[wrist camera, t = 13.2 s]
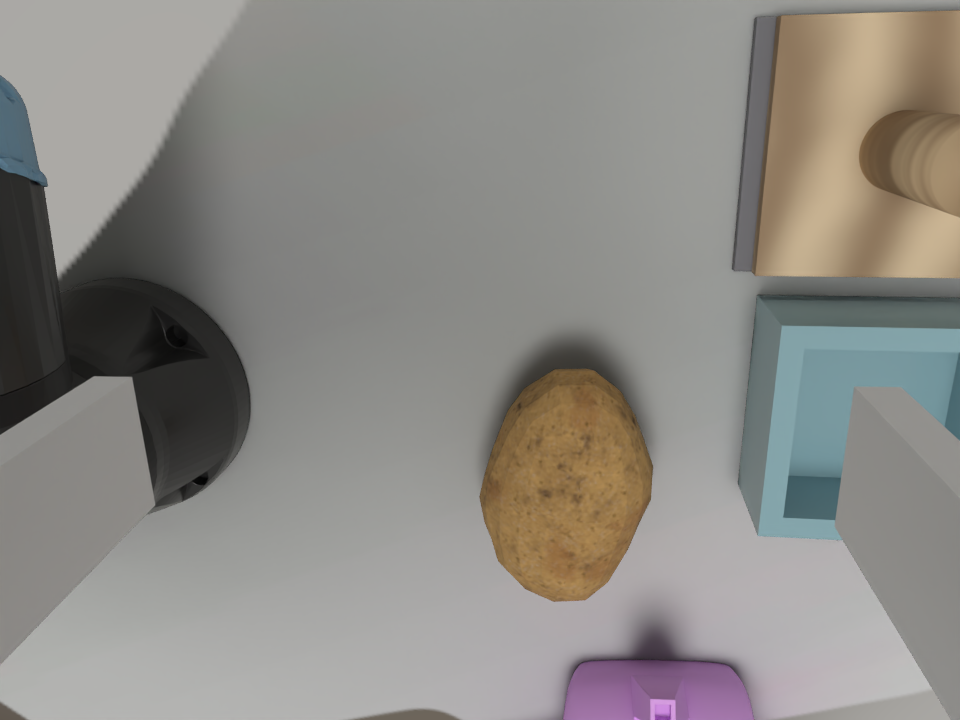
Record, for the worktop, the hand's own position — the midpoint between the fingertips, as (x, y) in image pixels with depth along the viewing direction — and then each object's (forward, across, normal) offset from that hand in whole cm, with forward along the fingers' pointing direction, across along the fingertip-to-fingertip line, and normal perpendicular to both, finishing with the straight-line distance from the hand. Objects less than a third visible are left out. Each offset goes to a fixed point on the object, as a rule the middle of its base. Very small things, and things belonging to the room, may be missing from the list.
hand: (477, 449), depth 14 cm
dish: (+32, +18, -11) cm, 38 cm away
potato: (+32, +2, -15) cm, 36 cm away
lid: (+31, +18, +3) cm, 36 cm away
